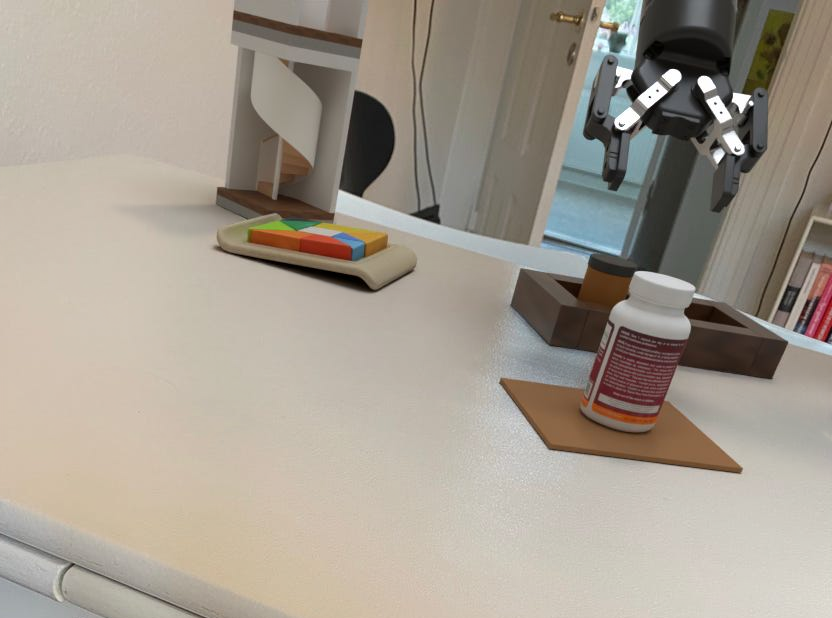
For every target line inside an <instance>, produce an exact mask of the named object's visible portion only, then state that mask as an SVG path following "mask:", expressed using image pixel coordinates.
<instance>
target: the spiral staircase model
mask: <svg viewBox="0 0 832 618" xmlns="http://www.w3.org/2000/svg"><path fill="white" fill-rule="evenodd" d="M369 3H370V0H234V1H233V13H232V23H231V34H230V35H231V36H230V45H233V46H236V47H237V57H236V66H235V67H236V68H235V77H234V78H235V79H234V87H233V99H232V109H231V118H230V129H229V131H230V132H229V139H228V150H227V161H226V171H225V182H224V186H217V187H216V197H215V205H217V206H220V207H222V208H224V209H226V210H228V211H230V212H232V213H234V214H236V215H239V216H240V217H243V218H245V219H246V220H249V219H253V218H257V217H261V216H265V215H269V214H273V213H276V214H278V215H280V217H281V218H282V219H287V218H290V217H296V218H301V219H308V220H313V221H319V222H323V223H330V224H334V223H335V222H334V220H335V215H336V207H337V203H338V196H339V190H340V183H341V178H342V173H343V165H344V159H345V153H346V146H347V140H348V135H349V134H348V133H349V128H350V121H351V115H352V109H353V103H354V97H355V92H356V91H355V90H356V84H357V79H358V72H359V67H360V59H361V54H362V48H363V41H364V34H365V28H366V22H367V16H368V11H369Z"/></svg>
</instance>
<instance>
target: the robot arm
mask: <svg viewBox="0 0 832 618" xmlns="http://www.w3.org/2000/svg"><path fill="white" fill-rule="evenodd" d="M738 15H739V9H738V0H642V2H641V10H640V17H639V19H640V20H639V24H638V25H639V27H638V35H637V43H636V51H635V60H634V67H633V68H634V69H630V68H627V67H622V66H619V60H618V57H617V56H615V55H614V54H606V55H604V57H603V59H602V61H601V63H600V65H599V68H598V69H597V72H596V74H595V77H594V79H593V81H592V84H591V91H590V95H589V100H588V105H587V110H586V113H585V114H586V115H585V120H584V124H583V130H582V136H583V138H584V139H586V140H587V141H595V140H598V141H599V142H601V143H602V145H603V148H604V153H603V154H604V155H603V161H602V162H603V165H602V169H601V178H602V181H603V182H605V183H607V190H608V191H612V192H618V190H619V188H620V186H621V185H622V183H623V181H624V180H625V178H626V174H627V169H628V160H629V152H630V145H631V141H632V140H633V139H634V138H635V137H637V136H638V135H639V134H640V133H641V132H642V131H643V130H645V129H646V128H648V129H649V130H651V134H652V135H656V136H670V137H673V138H675V139H677V140H680V141H685V142H689V141H690V140H691V143H692V144H693V146H694V147H695V148H696V150H697V152H698V154H699V155H700V156H701V157H707V159H708V160H709V162H710V164H711V166H712V167H713V168H714V170H715V171H714V172H713V175H712V183H711V185H712V186H711V195H710V204H709V205H710V206H709V211H710V212H713V213H716V214H719V213H722V211H723V210H724V208H727V207H729V205H730V204H731V202H732V201H733V200H734V198H735V197H736V195H737V194H738V192H739V188H740V178H741V173H742V174H749V173H750V172H751V171H752V170H753V168H754V167H755V166H756V165H757V163H758V162H759V161H760V160H761V158H762V156H764V154H765V153H766V152H767V150H768V138H769V137H768V136H769V135H768V134H769V133H768V132H769V131H768V129H769V92H768V90H767V89H766V88H764V87H762V86H761V87H757V88H755V89H754V90H753V92H752V93H751V95H750V94H744V93H739V92H734V89H733V86H732V84H731V82H730V74H731V70H732V69H731V68H732V61H733V54H734V53H733V52H734V51H733V50H734V40H735V31H736V22H737V19H738ZM621 89H625V91H626V95H627V97H628V99H629V100H630V102H631V103H632V104H631V105H630V106H629V107H628V108H626V109H625V110H624V111H622V113H621V114H619V115H618V116H617V117H614V116H612V115H610V114H609V111H610V106H611V100H612V97H615V96H617V95H618V93H619V91H620V90H621ZM711 126H712V128H711V131H710V132H709V133H708V131H707V129H709V128H710V127H711ZM734 128H735V129H736V128H738V129H737V132H736V131H735V129H734Z"/></svg>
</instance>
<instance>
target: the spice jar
mask: <svg viewBox="0 0 832 618" xmlns="http://www.w3.org/2000/svg"><path fill="white" fill-rule="evenodd" d="M637 271H638V265H637V264H636V263H635V262H632V261H630V260H628V259H625V258H621V257H619V256H614V255H612V254H611V255H610V254H607V253H606V254H605V253H596V252H595V253H590V255H589V257H588V260H587V267H586V271H585V274H584V277H583V279H584V280H583V283H582V286H581V289H580V292H579V296H578V300H579V301H584V302H590V303H596V304H602V305H608V306H615V305H616V304H618V303H619V302H621V301H624V300H625V299H626V296H627V293H628V290H629V286H630V283H631V280H632V278H633V275H634V273H635V272H637Z"/></svg>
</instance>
